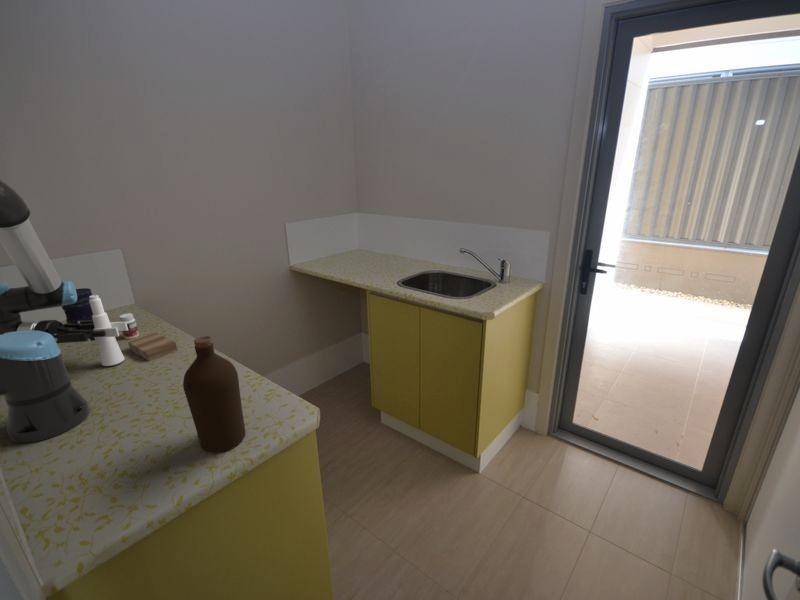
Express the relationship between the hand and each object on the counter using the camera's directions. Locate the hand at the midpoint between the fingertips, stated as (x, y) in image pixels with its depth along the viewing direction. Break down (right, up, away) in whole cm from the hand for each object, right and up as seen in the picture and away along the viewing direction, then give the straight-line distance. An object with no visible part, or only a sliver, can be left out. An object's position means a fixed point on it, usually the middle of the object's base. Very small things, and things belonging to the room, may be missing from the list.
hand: (121, 328), depth 121 cm
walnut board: (+3, -8, +12) cm, 14 cm away
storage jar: (-35, -2, +31) cm, 47 cm away
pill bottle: (-12, -5, +23) cm, 26 cm away
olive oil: (+46, -23, -32) cm, 60 cm away
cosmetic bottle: (-5, -11, +4) cm, 12 cm away
